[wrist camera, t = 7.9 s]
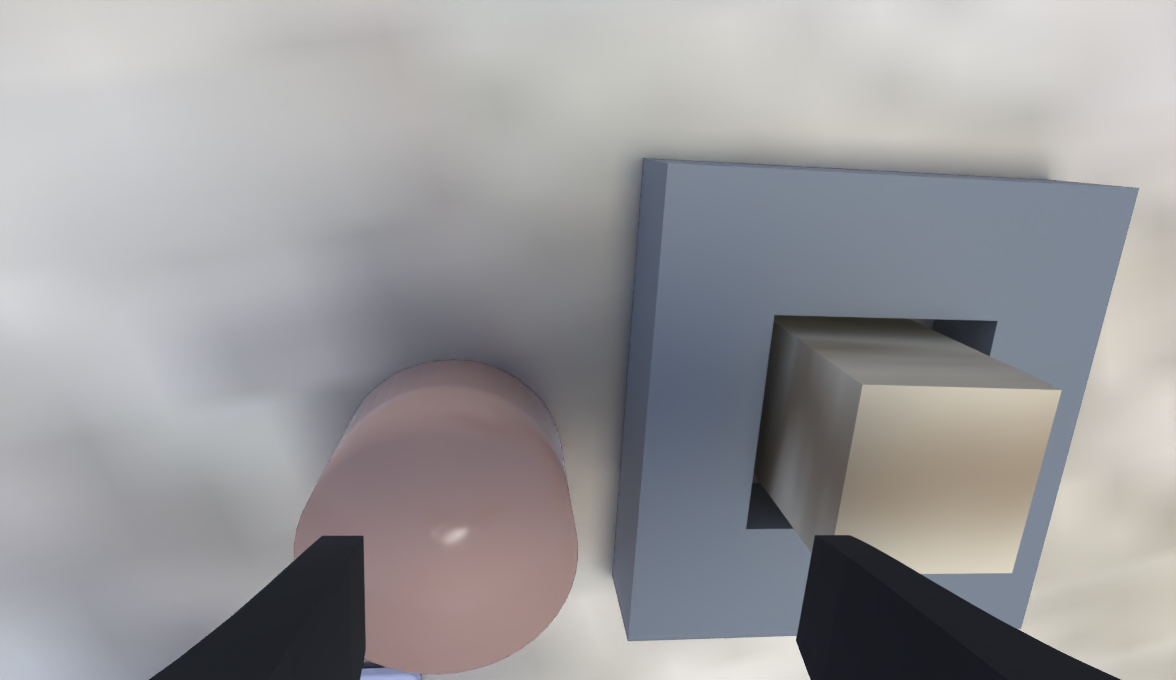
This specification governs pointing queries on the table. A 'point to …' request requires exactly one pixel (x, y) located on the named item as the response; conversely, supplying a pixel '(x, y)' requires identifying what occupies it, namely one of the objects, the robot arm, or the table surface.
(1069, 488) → the table surface
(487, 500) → the round peg
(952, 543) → the square peg
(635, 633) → the socket block
